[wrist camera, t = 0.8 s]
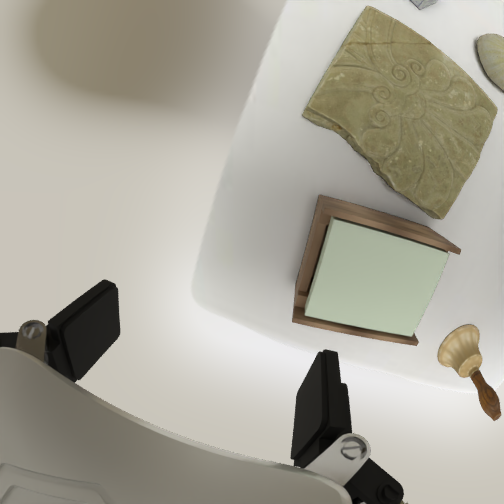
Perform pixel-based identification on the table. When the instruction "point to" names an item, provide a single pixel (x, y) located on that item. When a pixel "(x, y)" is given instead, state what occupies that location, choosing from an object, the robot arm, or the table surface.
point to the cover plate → (374, 278)
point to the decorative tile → (404, 110)
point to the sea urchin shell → (492, 57)
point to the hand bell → (469, 364)
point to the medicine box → (423, 3)
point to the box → (315, 245)
